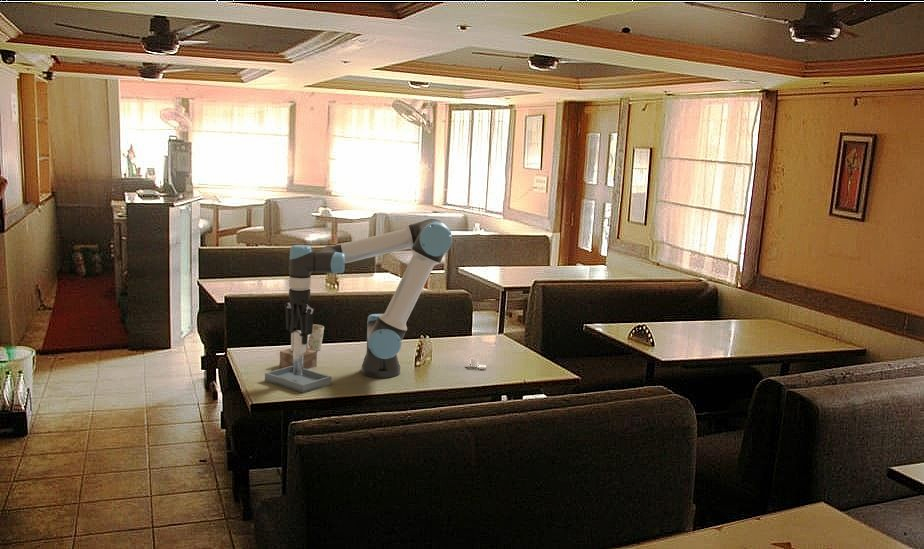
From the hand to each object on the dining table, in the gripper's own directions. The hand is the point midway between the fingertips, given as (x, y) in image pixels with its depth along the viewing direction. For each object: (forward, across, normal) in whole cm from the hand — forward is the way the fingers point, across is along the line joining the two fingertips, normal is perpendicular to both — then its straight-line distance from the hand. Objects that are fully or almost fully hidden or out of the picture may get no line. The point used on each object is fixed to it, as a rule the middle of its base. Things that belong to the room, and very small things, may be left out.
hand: (298, 351), depth 277 cm
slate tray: (+12, 0, 0) cm, 12 cm away
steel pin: (+9, 0, 0) cm, 9 cm away
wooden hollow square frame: (+12, +15, -14) cm, 24 cm away
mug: (+12, +27, -33) cm, 44 cm away
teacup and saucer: (+12, -37, -60) cm, 72 cm away
